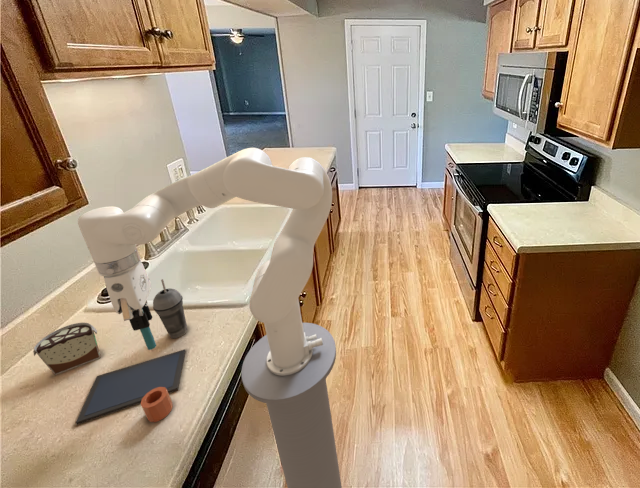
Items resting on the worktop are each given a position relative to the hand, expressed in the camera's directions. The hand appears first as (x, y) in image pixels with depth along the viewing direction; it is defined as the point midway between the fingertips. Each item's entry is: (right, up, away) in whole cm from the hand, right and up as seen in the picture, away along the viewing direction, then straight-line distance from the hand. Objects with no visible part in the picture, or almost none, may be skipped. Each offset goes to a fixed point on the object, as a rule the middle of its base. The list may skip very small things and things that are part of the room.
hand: (143, 324), depth 80 cm
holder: (+6, -20, -2) cm, 21 cm away
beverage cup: (-5, -11, +20) cm, 24 cm away
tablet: (-5, -17, +4) cm, 19 cm away
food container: (-27, -15, +12) cm, 33 cm away
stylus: (0, -7, +3) cm, 8 cm away
